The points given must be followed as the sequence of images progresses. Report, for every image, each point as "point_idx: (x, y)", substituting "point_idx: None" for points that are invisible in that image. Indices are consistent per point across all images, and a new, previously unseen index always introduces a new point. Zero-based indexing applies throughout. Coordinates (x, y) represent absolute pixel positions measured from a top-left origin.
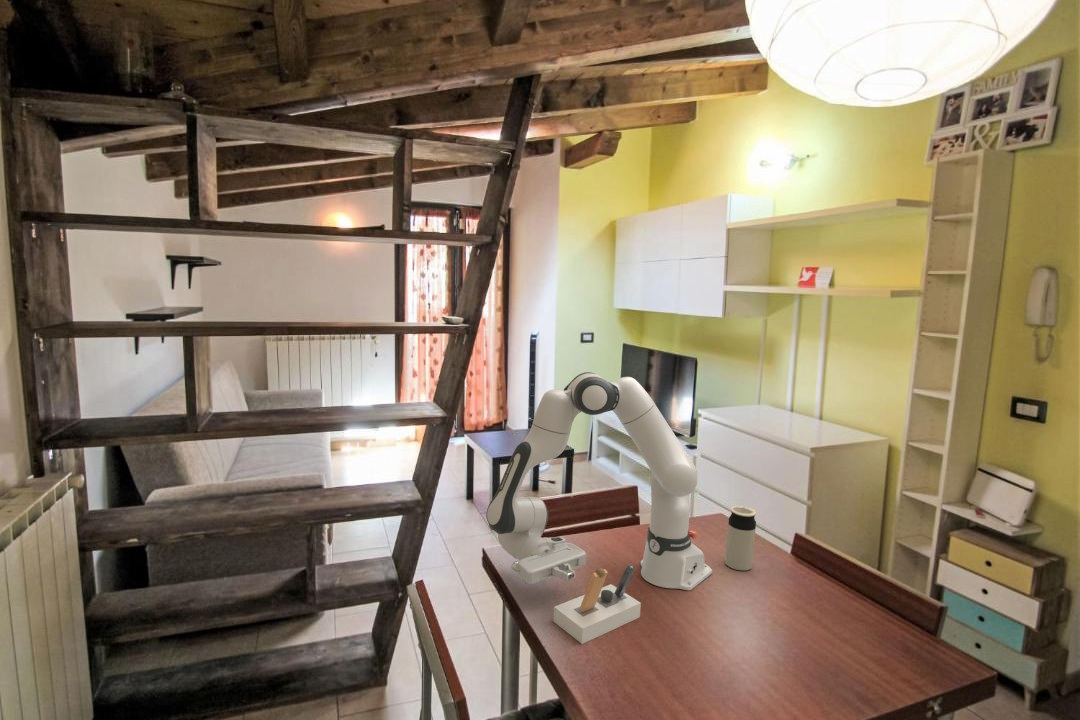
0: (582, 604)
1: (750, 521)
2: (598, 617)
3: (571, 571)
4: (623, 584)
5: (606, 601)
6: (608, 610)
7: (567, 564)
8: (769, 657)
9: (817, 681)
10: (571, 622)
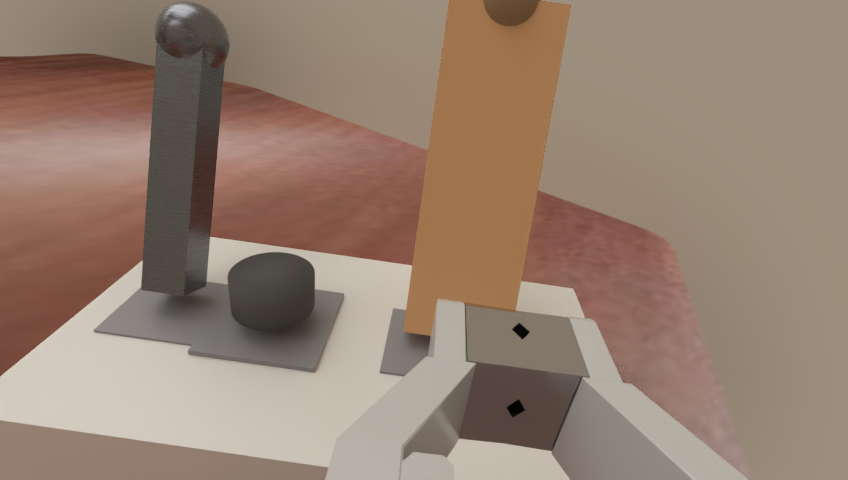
0: (516, 295)
1: None
2: None
3: (481, 319)
4: (211, 170)
5: None
6: (356, 282)
7: (383, 475)
8: None
9: (235, 106)
10: None
